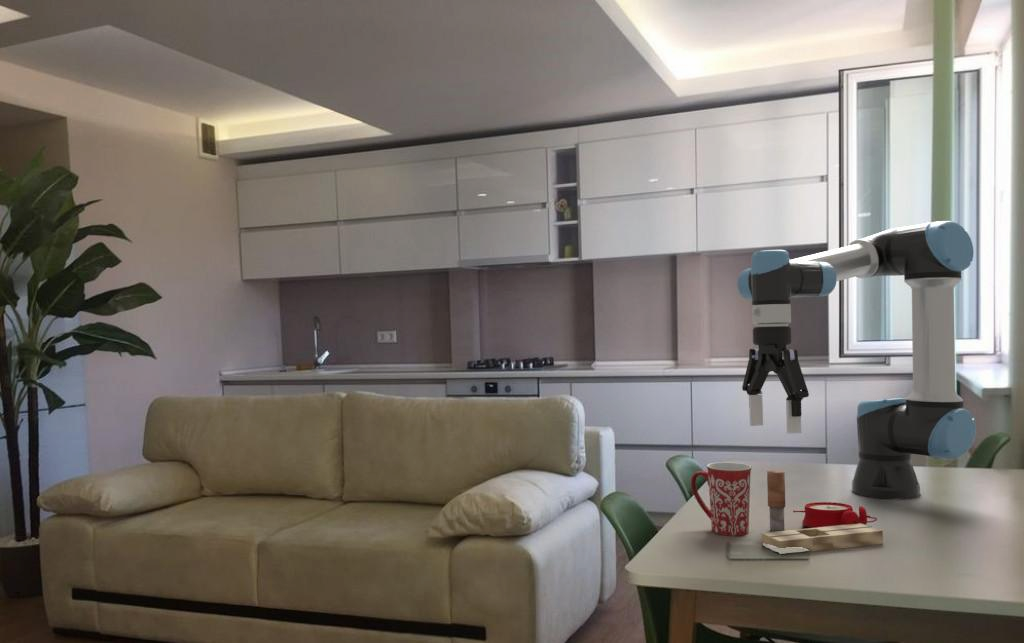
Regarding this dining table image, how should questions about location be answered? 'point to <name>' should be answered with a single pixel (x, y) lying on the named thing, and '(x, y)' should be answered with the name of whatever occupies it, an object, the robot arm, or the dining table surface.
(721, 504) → the mug
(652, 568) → the dining table surface
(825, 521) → the alarm clock
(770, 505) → the wooden tool handle
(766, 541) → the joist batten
